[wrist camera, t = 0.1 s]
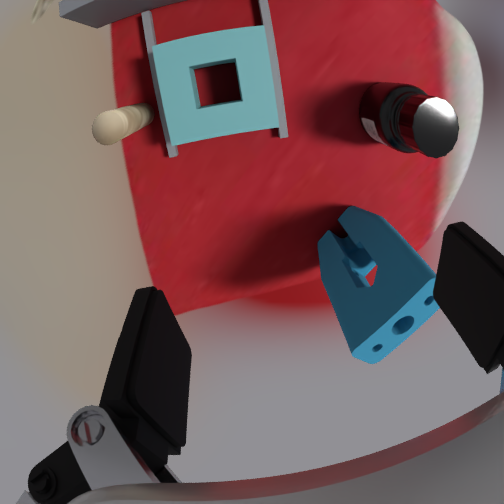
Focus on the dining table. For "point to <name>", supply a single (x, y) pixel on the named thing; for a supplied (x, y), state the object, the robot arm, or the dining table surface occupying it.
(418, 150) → the ink bottle
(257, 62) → the socket block
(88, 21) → the backstop wall
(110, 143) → the dowel
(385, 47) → the dining table surface
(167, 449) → the robot arm
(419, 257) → the block
